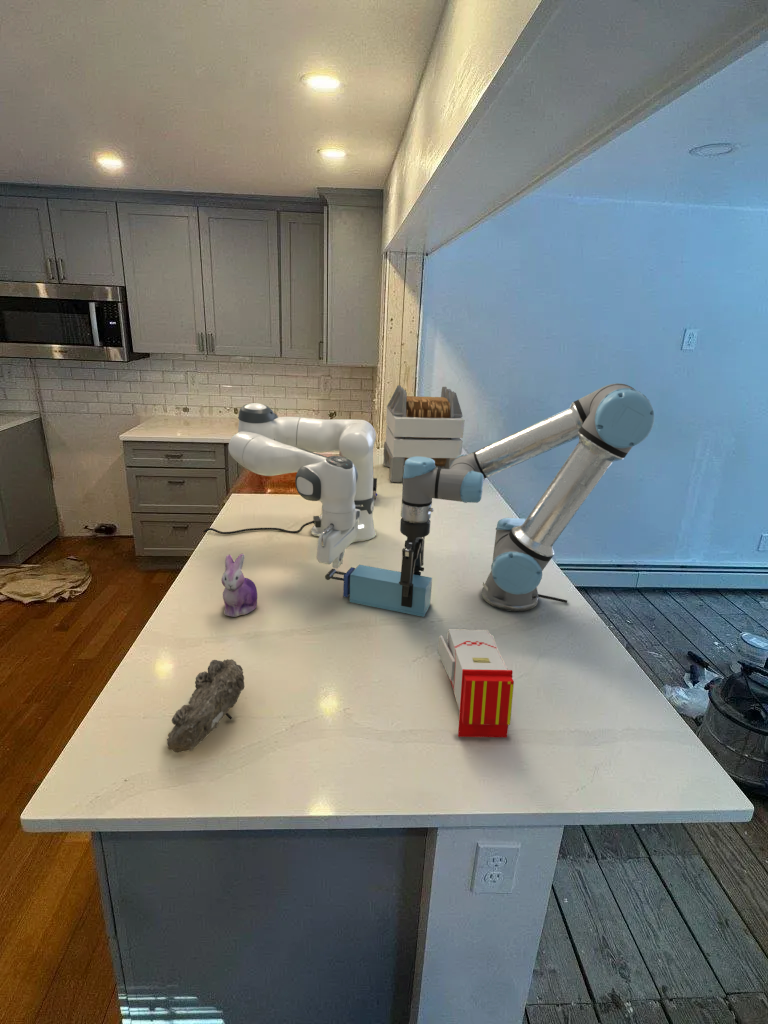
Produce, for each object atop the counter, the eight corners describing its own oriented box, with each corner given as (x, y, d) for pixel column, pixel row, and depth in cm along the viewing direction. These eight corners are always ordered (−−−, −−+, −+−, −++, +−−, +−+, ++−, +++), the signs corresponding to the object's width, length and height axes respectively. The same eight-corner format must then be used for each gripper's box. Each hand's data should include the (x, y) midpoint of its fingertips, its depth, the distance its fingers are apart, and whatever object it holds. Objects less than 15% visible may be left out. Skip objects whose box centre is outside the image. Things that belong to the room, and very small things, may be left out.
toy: (488, 613, 130) (523, 677, 101) (484, 667, 133) (517, 744, 104) (435, 612, 130) (455, 676, 101) (432, 666, 133) (451, 743, 103)
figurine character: (377, 508, 228) (376, 492, 242) (377, 490, 225) (377, 476, 238) (360, 507, 228) (361, 492, 242) (360, 490, 225) (361, 475, 238)
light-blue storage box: (349, 602, 152) (350, 574, 150) (358, 591, 158) (359, 564, 156) (423, 617, 147) (425, 588, 144) (430, 604, 153) (432, 577, 150)
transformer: (382, 463, 289) (386, 382, 275) (445, 464, 293) (451, 384, 279) (390, 482, 257) (394, 392, 243) (460, 483, 261) (468, 394, 247)
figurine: (226, 621, 140) (223, 566, 135) (217, 603, 148) (214, 550, 143) (264, 614, 144) (262, 560, 139) (253, 596, 153) (251, 545, 148)
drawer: (323, 592, 155) (323, 571, 153) (331, 584, 160) (332, 563, 158) (412, 610, 148) (413, 588, 146) (418, 600, 153) (419, 579, 151)
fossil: (192, 660, 117) (244, 628, 112) (224, 691, 120) (276, 661, 115) (142, 746, 98) (202, 712, 93) (182, 779, 101) (242, 748, 96)
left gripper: (334, 533, 139) (333, 584, 144) (362, 508, 157) (361, 554, 162) (310, 529, 141) (310, 579, 146) (341, 505, 159) (340, 550, 164)
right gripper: (420, 534, 132) (414, 620, 140) (439, 508, 150) (432, 586, 158) (389, 529, 135) (385, 614, 142) (411, 504, 152) (407, 581, 160)
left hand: (337, 566), depth 154 cm, fingers closed
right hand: (410, 599), depth 150 cm, fingers closed on light-blue storage box, 7 cm apart
